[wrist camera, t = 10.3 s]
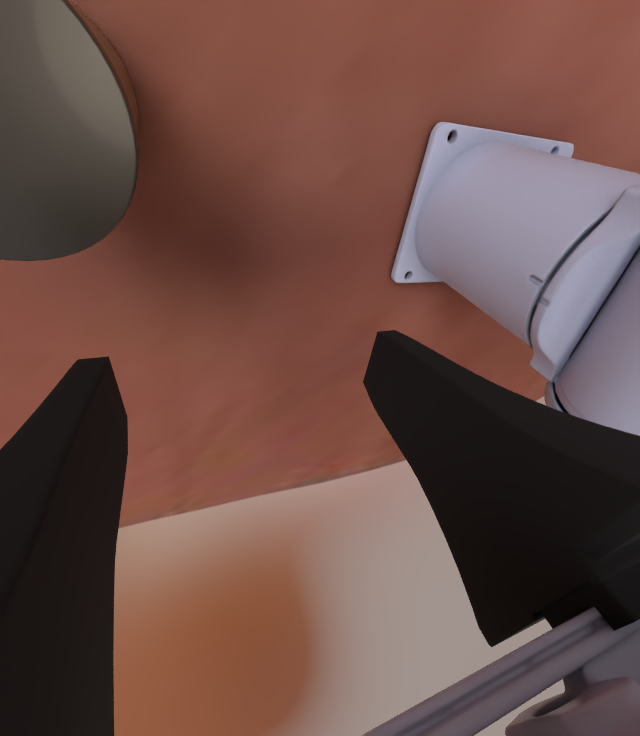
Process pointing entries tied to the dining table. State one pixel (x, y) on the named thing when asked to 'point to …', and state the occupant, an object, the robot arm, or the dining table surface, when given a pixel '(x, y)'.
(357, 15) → the dining table surface
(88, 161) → the tea tin
